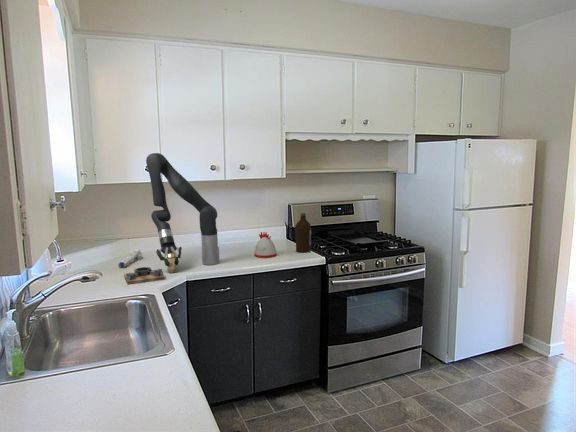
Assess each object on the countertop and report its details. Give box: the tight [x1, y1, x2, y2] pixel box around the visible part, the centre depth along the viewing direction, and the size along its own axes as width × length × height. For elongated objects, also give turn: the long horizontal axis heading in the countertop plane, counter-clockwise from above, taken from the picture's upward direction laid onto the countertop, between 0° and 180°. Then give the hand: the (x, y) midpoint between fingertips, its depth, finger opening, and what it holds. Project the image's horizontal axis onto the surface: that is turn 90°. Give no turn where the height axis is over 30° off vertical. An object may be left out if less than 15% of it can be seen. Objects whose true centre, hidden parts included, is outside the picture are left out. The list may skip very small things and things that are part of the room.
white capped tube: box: [117, 248, 143, 269], centre depth 246 cm, size 5×7×25 cm
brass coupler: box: [166, 253, 177, 274], centre depth 223 cm, size 5×5×10 cm
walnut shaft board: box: [123, 269, 166, 286], centre depth 213 cm, size 18×16×2 cm
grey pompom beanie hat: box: [253, 231, 277, 259], centre depth 259 cm, size 14×14×15 cm
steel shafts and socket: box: [126, 266, 164, 280], centre depth 213 cm, size 18×13×3 cm
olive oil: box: [294, 212, 312, 254], centre depth 268 cm, size 11×11×25 cm
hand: (172, 264), depth 221 cm, fingers closed on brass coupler, 4 cm apart
